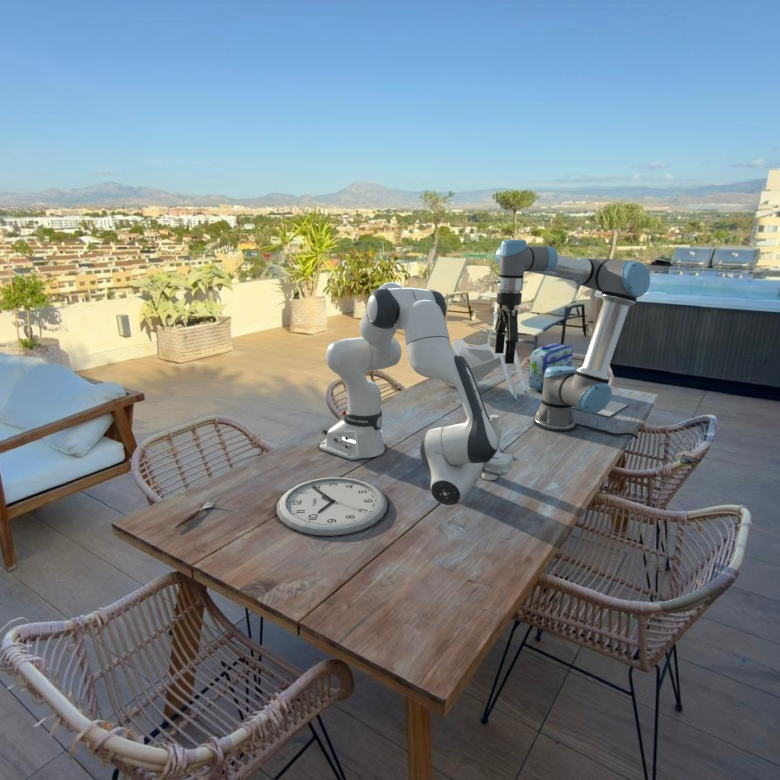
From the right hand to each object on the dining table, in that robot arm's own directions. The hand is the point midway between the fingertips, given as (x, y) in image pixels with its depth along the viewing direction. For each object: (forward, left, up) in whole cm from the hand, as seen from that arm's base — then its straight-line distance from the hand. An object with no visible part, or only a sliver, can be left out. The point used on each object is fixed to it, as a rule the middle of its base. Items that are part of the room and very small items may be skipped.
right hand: (503, 358), depth 168 cm
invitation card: (-49, -56, -33) cm, 82 cm away
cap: (0, 0, -32) cm, 32 cm away
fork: (+81, +53, -33) cm, 102 cm away
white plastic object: (+3, -68, -33) cm, 76 cm away
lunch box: (-31, -81, -33) cm, 93 cm away
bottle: (+3, +19, -33) cm, 38 cm away
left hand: (+7, +30, -18) cm, 36 cm away
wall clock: (+47, +43, -33) cm, 72 cm away
